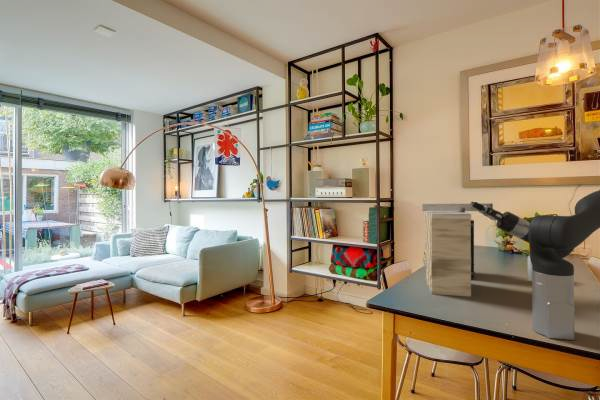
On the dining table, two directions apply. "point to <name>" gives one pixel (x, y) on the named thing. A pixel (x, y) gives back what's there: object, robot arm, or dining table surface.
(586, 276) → the dining table surface
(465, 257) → the stand
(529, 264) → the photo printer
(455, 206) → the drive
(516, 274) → the dining table surface
